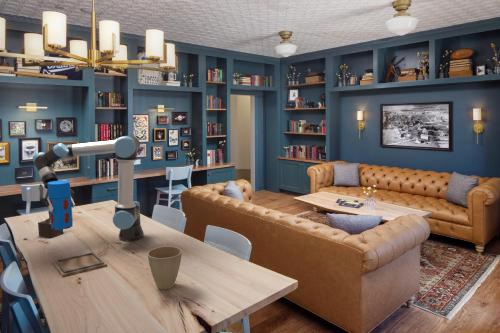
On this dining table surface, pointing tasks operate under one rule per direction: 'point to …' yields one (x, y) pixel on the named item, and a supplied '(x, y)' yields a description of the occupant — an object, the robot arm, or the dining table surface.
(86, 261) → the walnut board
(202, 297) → the dining table surface
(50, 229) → the manual coffee grinder
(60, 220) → the thermos
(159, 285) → the plant pot
